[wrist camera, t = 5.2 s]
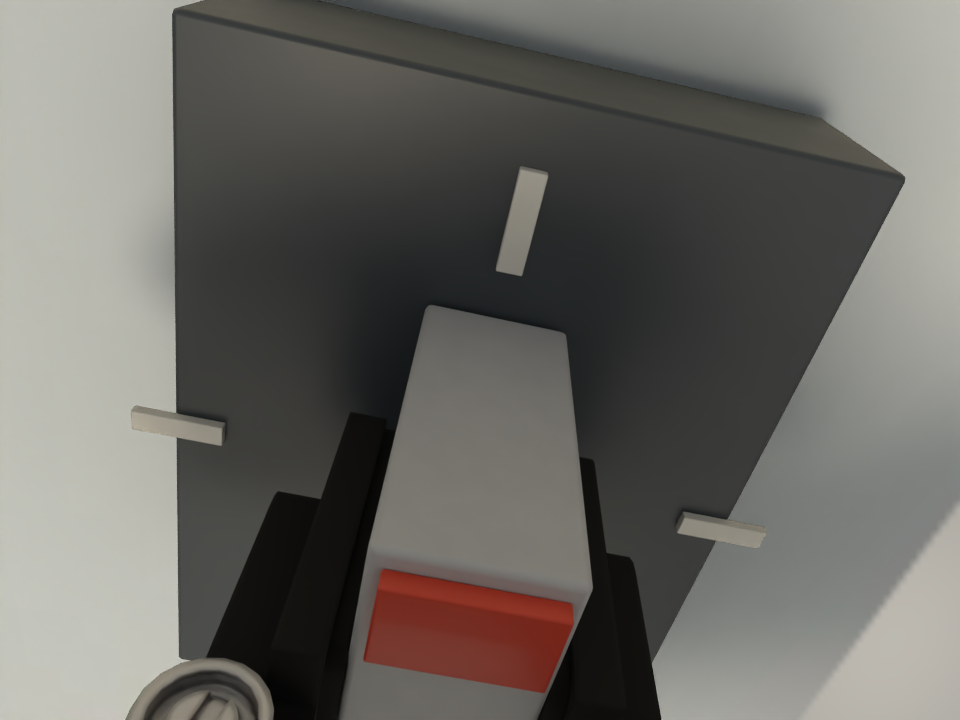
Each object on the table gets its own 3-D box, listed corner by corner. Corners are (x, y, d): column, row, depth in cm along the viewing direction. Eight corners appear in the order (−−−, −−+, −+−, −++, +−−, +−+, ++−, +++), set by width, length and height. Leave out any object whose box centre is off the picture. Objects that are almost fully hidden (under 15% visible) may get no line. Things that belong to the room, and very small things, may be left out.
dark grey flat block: (626, 621, 18) (644, 747, 15) (202, 543, 17) (143, 661, 14) (860, 126, 12) (963, 191, 9) (210, -26, 11) (110, -4, 8)
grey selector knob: (479, 611, 13) (460, 925, 9) (370, 592, 13) (302, 899, 9) (567, 330, 10) (598, 613, 6) (426, 301, 10) (362, 569, 6)
